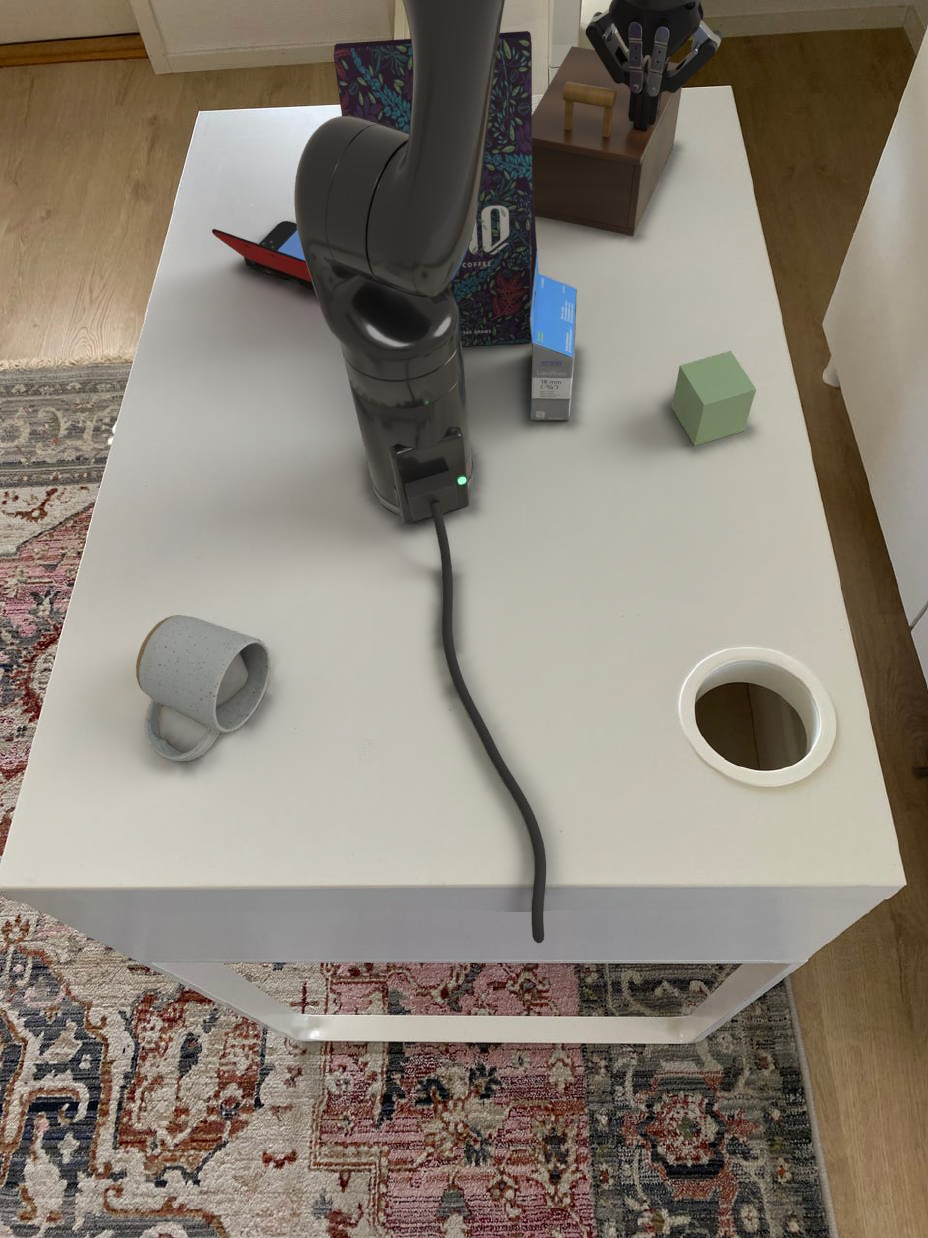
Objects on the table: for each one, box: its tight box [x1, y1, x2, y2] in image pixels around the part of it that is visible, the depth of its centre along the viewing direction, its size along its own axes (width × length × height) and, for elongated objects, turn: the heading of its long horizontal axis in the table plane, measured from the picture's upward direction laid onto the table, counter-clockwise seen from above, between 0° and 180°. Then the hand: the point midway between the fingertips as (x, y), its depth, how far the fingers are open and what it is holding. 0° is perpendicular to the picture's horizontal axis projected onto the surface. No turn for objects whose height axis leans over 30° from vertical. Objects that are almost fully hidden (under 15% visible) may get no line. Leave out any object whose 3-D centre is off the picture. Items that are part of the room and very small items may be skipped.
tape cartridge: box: [529, 251, 577, 422], centre depth 86 cm, size 9×4×12 cm, turn 174°
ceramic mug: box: [135, 614, 272, 762], centre depth 73 cm, size 11×8×8 cm
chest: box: [532, 86, 683, 237], centre depth 102 cm, size 16×13×9 cm
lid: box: [532, 45, 679, 165], centre depth 95 cm, size 16×13×5 cm
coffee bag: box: [333, 30, 538, 347], centre depth 84 cm, size 8×16×28 cm, turn 91°
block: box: [671, 350, 757, 447], centre depth 85 cm, size 5×5×6 cm
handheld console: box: [211, 220, 315, 291], centre depth 98 cm, size 12×11×7 cm
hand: (643, 124), depth 94 cm, fingers closed
